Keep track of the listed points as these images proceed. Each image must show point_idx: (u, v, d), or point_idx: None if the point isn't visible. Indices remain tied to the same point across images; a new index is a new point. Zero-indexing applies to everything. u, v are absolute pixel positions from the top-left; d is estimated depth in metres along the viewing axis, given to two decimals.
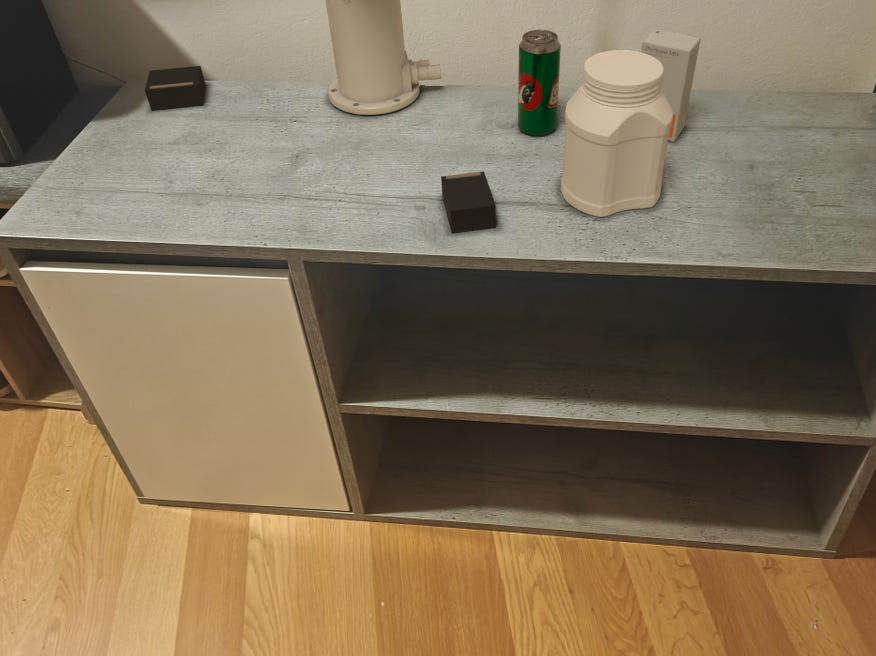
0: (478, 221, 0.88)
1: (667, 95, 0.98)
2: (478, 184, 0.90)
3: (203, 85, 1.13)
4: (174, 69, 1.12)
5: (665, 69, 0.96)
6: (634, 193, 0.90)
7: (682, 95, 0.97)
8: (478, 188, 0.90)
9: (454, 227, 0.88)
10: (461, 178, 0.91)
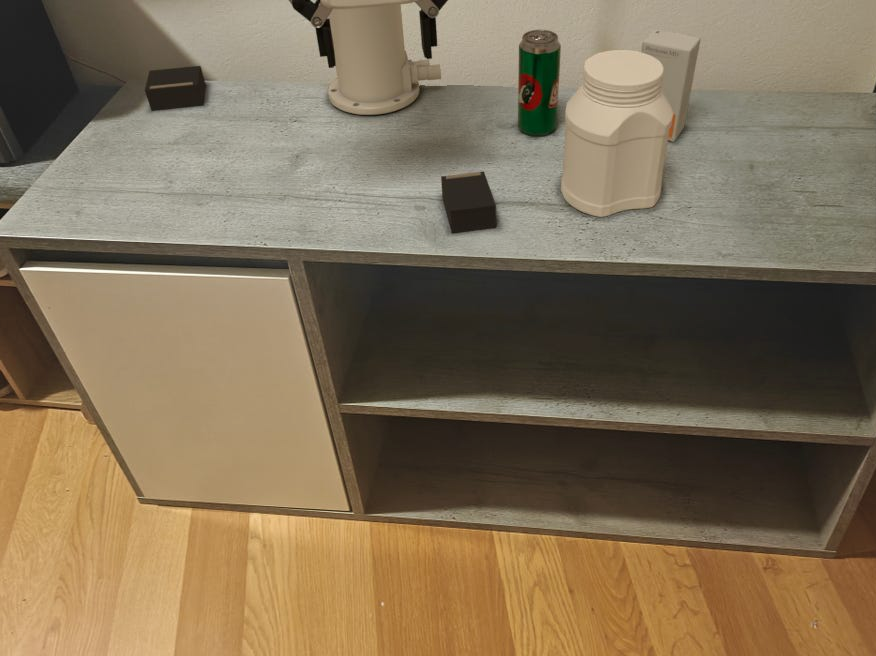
0: (478, 221, 0.88)
1: (667, 95, 0.98)
2: (478, 184, 0.90)
3: (203, 85, 1.13)
4: (174, 69, 1.12)
5: (665, 69, 0.96)
6: (634, 193, 0.90)
7: (682, 95, 0.97)
8: (478, 188, 0.90)
9: (454, 227, 0.88)
10: (461, 178, 0.91)
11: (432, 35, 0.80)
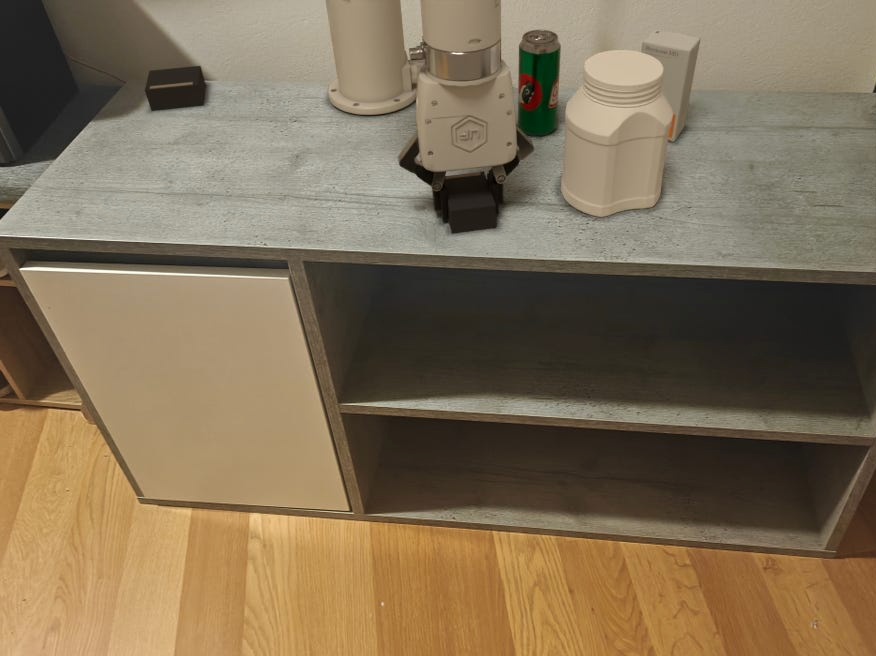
0: (478, 221, 0.88)
1: (667, 95, 0.98)
2: (478, 184, 0.90)
3: (203, 85, 1.13)
4: (174, 69, 1.12)
5: (665, 69, 0.96)
6: (634, 193, 0.90)
7: (682, 95, 0.97)
8: (478, 188, 0.90)
9: (454, 227, 0.88)
10: (461, 178, 0.91)
11: (498, 195, 0.90)
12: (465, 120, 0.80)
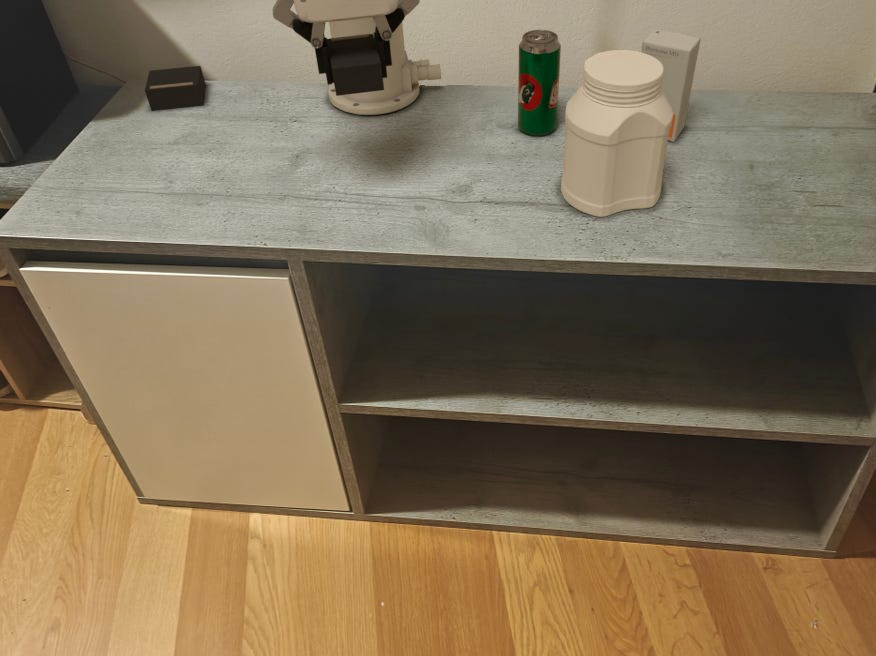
0: (364, 82, 0.83)
1: (667, 95, 0.98)
2: (364, 45, 0.85)
3: (203, 85, 1.13)
4: (174, 69, 1.12)
5: (665, 69, 0.96)
6: (634, 193, 0.90)
7: (682, 95, 0.97)
8: (364, 48, 0.84)
9: (338, 88, 0.83)
10: (348, 40, 0.86)
11: (386, 56, 0.84)
12: None
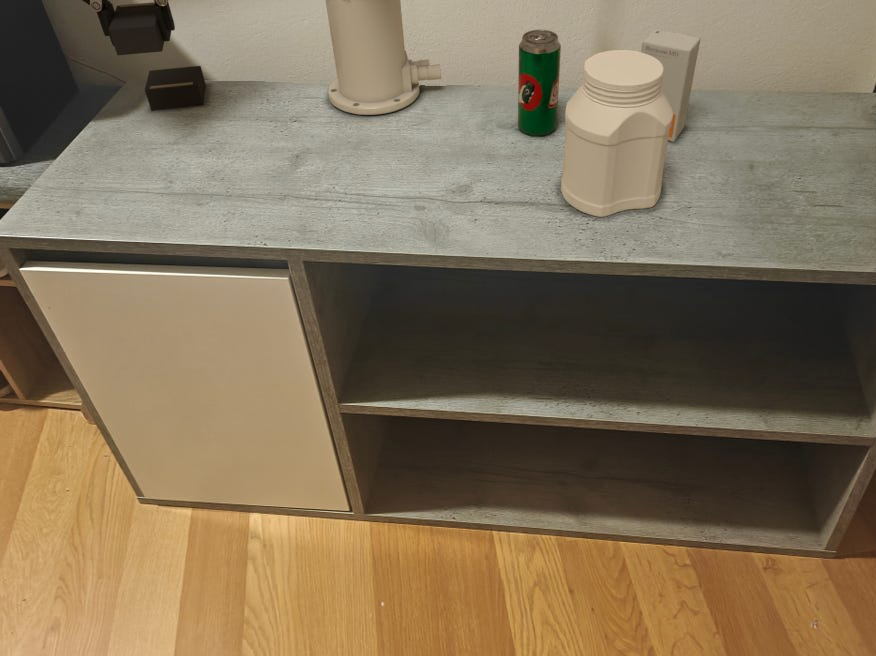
0: (141, 43, 0.91)
1: (667, 95, 0.98)
2: (148, 11, 0.93)
3: (203, 85, 1.13)
4: (174, 69, 1.12)
5: (665, 69, 0.96)
6: (634, 193, 0.90)
7: (682, 95, 0.97)
8: (146, 14, 0.93)
9: (118, 48, 0.91)
10: (135, 6, 0.94)
11: (166, 21, 0.93)
12: None
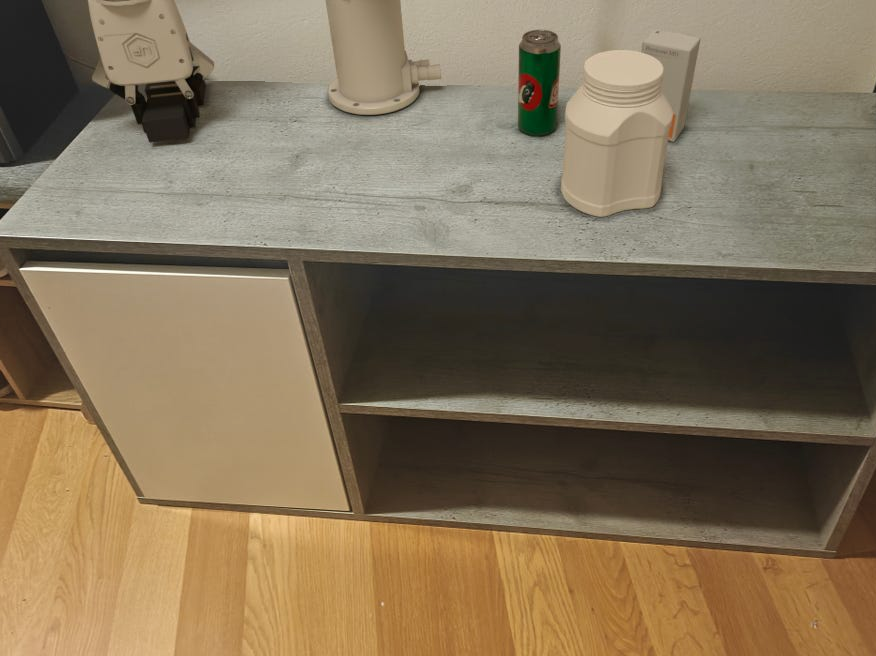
0: (171, 132, 1.02)
1: (667, 95, 0.98)
2: (175, 101, 1.04)
3: (203, 85, 1.13)
4: None
5: (665, 69, 0.96)
6: (634, 193, 0.90)
7: (682, 95, 0.97)
8: (174, 104, 1.03)
9: (150, 137, 1.02)
10: (164, 96, 1.05)
11: (192, 110, 1.04)
12: (134, 38, 0.94)
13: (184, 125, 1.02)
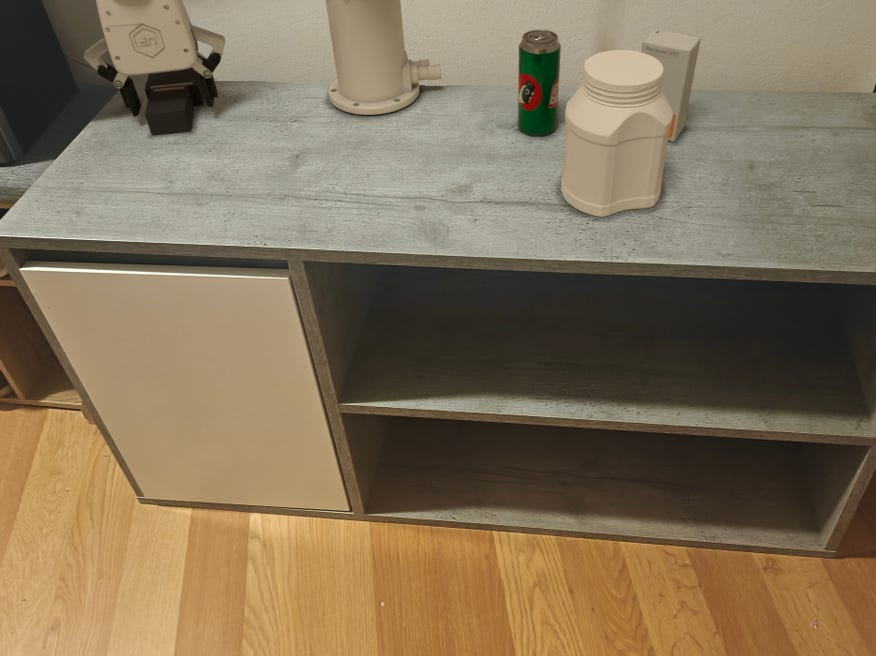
0: (173, 125, 1.05)
1: (667, 95, 0.98)
2: (178, 95, 1.07)
3: None
4: None
5: (665, 69, 0.96)
6: (634, 193, 0.90)
7: (682, 95, 0.97)
8: (176, 98, 1.06)
9: (152, 130, 1.05)
10: (166, 91, 1.08)
11: (211, 90, 1.06)
12: (139, 28, 0.97)
13: (186, 118, 1.05)
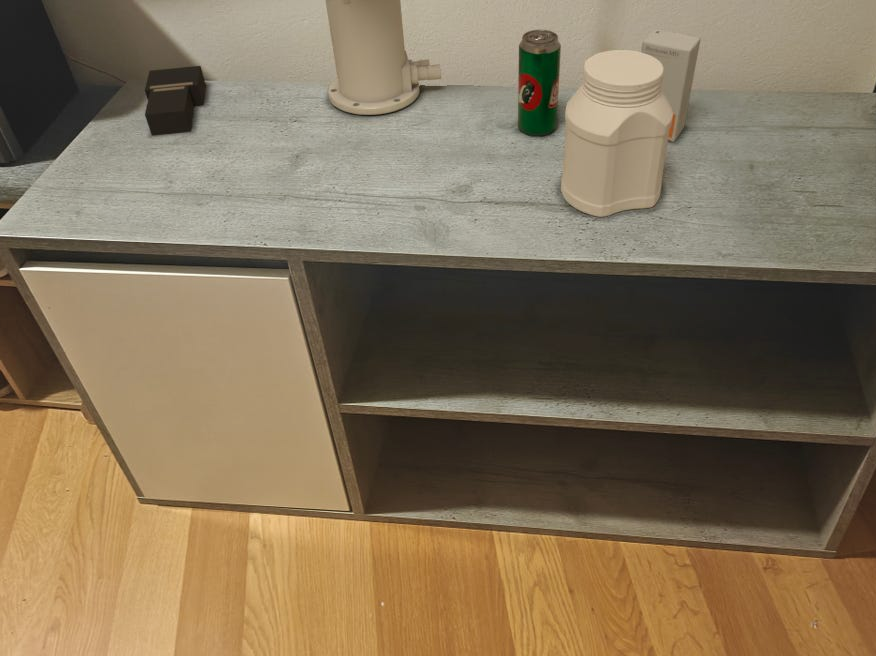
0: (173, 125, 1.05)
1: (667, 95, 0.98)
2: (178, 95, 1.07)
3: (203, 85, 1.13)
4: (174, 69, 1.12)
5: (665, 69, 0.96)
6: (634, 193, 0.90)
7: (682, 95, 0.97)
8: (176, 98, 1.06)
9: (152, 130, 1.05)
10: (166, 91, 1.08)
11: None
12: None
13: (186, 118, 1.05)
